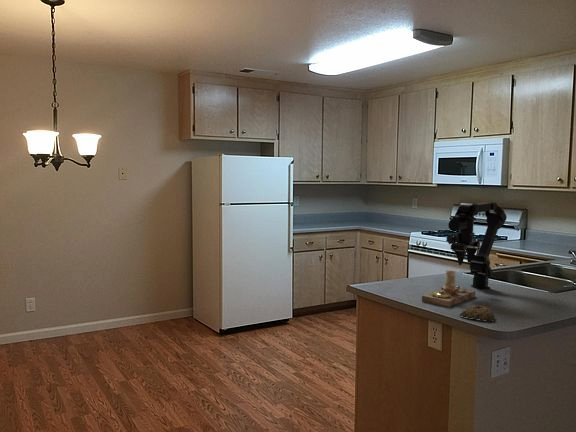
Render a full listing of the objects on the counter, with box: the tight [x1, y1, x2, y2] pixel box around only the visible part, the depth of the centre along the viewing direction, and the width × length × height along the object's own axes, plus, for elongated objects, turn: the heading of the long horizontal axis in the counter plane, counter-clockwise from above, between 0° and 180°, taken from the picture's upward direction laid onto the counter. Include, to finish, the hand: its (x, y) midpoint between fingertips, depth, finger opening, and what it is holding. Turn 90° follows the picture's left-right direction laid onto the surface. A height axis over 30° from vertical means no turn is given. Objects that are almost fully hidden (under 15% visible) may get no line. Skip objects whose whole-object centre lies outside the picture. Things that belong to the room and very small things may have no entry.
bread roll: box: [459, 304, 496, 322], centre depth 193 cm, size 13×12×5 cm
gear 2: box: [455, 285, 468, 293], centre depth 224 cm, size 8×8×2 cm
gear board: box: [421, 289, 476, 308], centre depth 218 cm, size 26×12×2 cm, turn 136°
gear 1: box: [431, 290, 451, 299], centre depth 213 cm, size 8×8×2 cm
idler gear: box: [440, 269, 459, 296], centre depth 218 cm, size 7×7×12 cm
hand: (464, 263), depth 232 cm, fingers open, 9 cm apart
